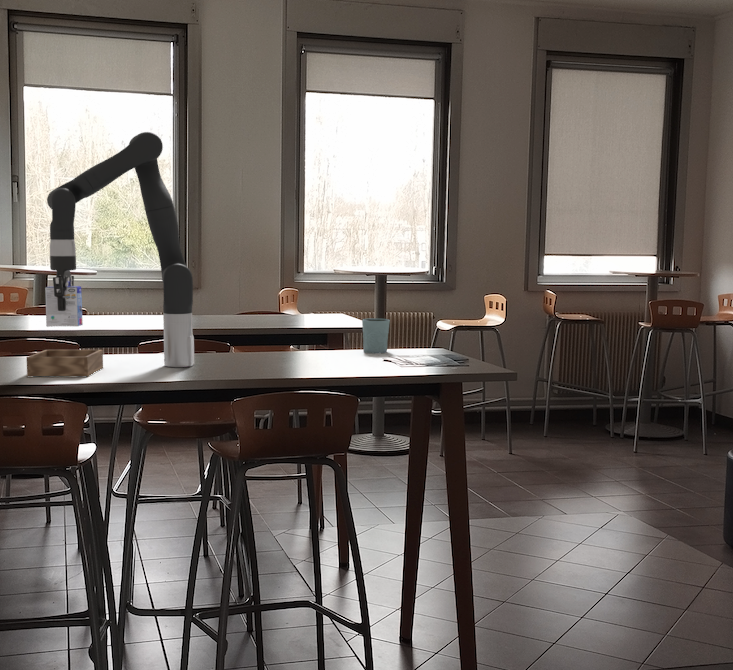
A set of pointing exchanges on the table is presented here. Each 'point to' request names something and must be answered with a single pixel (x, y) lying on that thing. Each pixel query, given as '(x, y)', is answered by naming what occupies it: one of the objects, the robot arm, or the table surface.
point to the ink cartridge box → (73, 307)
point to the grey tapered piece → (375, 335)
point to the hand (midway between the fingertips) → (64, 309)
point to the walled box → (65, 363)
